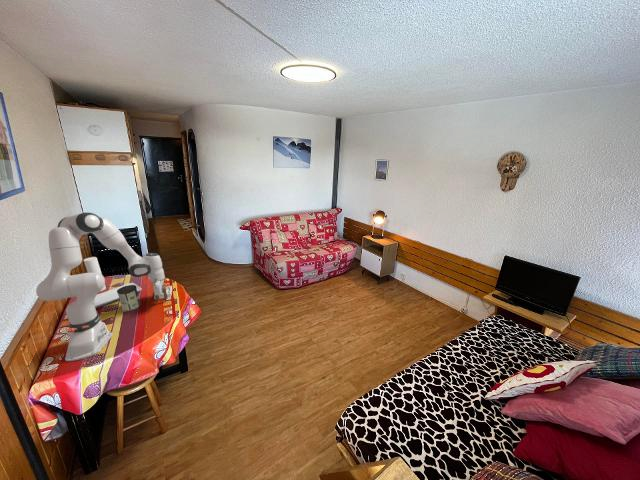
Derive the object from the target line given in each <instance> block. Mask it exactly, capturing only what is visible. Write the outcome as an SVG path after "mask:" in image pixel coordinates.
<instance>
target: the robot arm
mask: <svg viewBox="0 0 640 480" xmlns="http://www.w3.org/2000/svg"><path fill="white" fill-rule="evenodd" d="M87 234H93V236H94V237H95V238H96V239H97V240H98V241H99V242H100V243H101V244H102V245H103V246H104V247H105V248H107V249H109V250H116V251H118V252H119V253H120V254H121V255H122V256H123V257H124V258H125V260H127V264H128V273H129V275H130V276H132V277H134V278H140V277H143V276H146V275H148V280H149V282H152V288H153V294H154V295H158V296H159V298H160V297H162V294H161V292H163V290H162V287H163V284H164V282H165V281H164V279H165V277H166V276H165V270H164V268H163V261H162V258H161V257H160V255H159V254H158V253H156V252H149V253H145V255H144V256H141V255H139V254H138V253H136V251H134V249H133V248H132V247H131V246H130V245H129V244H128V242H127V240H126V237H125V236H124V235H123V233H122V232H121V230H120V229H119V228H118V227H117V226H116V225H115V224H114V223H113V222H112V221H110V219H108V218H107V217H104V216H101V217H100V216H99V215H97V214H95V213H93V212H88V211H87V212H81V213H75V214H72V215H69V216H66V217H64V218H61V220H59V222H58V224H57V226H56V227H55V228H52V229H50V231H49V232H48V248H49V254H50V261H51V262H50V263H51V267H50V271H49V273H48V275H46V277H45V278H44V279H43V280H42V281H41V282H40V283H38V284H37V287H36V290H35V293H36V295H37V297H38V298H39V299H40V300H42V301H45V302H46V301H59V300H64V299H69V298H76V300H74V301H73V302H71V303H69V304H68V305H67V306H66V308H65V314H66V316H67V318H68V327H69V328H68V330H67V332H68V333H69V338H68V345H67V350H66V354H65V358H64V360H65V362H74V361H75V362H76V361H78V360H79V361H81V360H83V359H87V358H90V357H92V355H93V356H96V355H97V354H99V353H101V351H102V350H103V349H102V348H104V347H105V346H106V345H105V344H107V343H108V342H109V340H110V339H111V338H112V336H113V335H114V334H113V332H110V331H109V330H108V327H107V325H106V324H105V322H104V321H102V320H101V318H100V314H99V312H98V311H97V310H96V309H97V308H95V304H94V300H95V297H96V295H97V294H99V291H100V290H102V288H103V287H104V285H105V286H106V278H105V277H104V275H103V274H102V275H101V274H100V273H88V272H85V273H83V272H82V273H79V274H73V275H71V271H72V270H73V269H75V268H77V267H78V266H80V265H81V263H82V262H83V255H82V252H81V246H80V245H81V244H80V240H79V238H80V236H81V235H82V236H83V235H87ZM100 292H101V291H100Z"/></svg>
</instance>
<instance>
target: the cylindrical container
mask: <svg viewBox="0 0 640 480" xmlns="http://www.w3.org/2000/svg"><path fill="white" fill-rule="evenodd" d="M83 262H84V265H85V269H86V273H100V274H101V275H102V276H103V273H102V271H101V267H100V264H99V261H98V258H97V257H96V256H91V257H90V256H89V257H87V258H83ZM106 288H107V287H106V284H105V285H104V287H103V288H102V290H100V291H99V292H100V293H101V292H103V291H104V290H105V291H106ZM99 292H98V293H99Z"/></svg>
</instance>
